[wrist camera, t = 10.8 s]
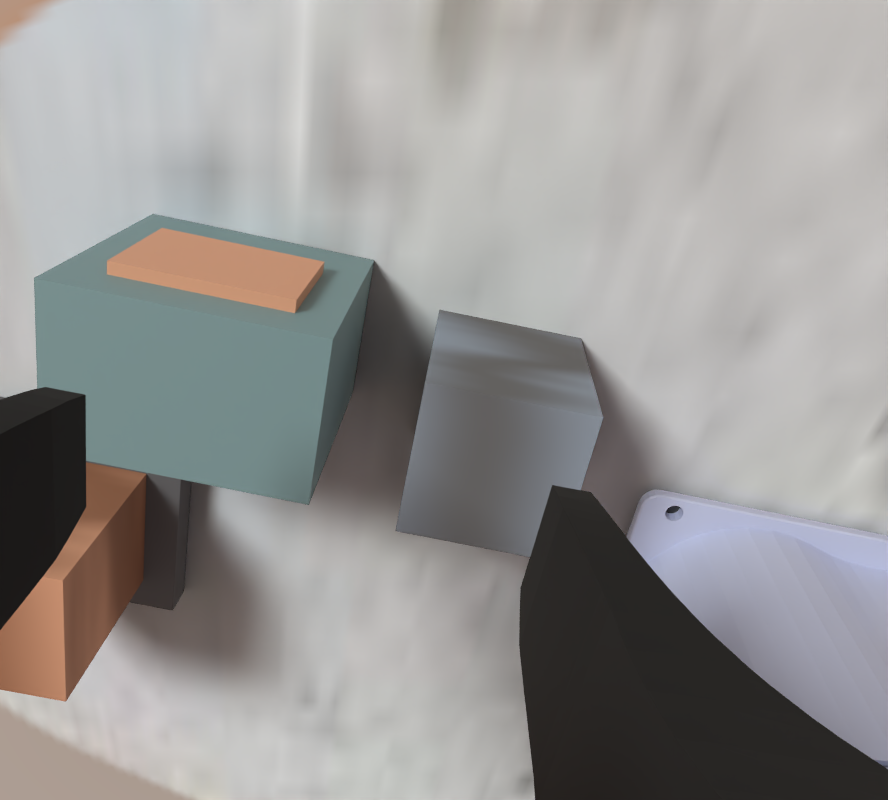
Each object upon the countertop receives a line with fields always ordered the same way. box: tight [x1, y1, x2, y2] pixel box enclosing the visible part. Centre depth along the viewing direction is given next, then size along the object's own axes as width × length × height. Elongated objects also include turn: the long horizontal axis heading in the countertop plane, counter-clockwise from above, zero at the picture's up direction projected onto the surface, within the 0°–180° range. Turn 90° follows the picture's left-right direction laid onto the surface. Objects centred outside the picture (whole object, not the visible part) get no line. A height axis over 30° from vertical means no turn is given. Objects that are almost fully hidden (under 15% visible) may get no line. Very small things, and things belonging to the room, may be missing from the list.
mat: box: [0, 397, 191, 610], centre depth 25 cm, size 6×6×1 cm
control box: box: [34, 214, 374, 505], centre depth 19 cm, size 6×5×6 cm
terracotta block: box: [0, 462, 146, 701], centre depth 22 cm, size 4×4×5 cm
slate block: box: [396, 310, 603, 557], centre depth 20 cm, size 4×4×5 cm
